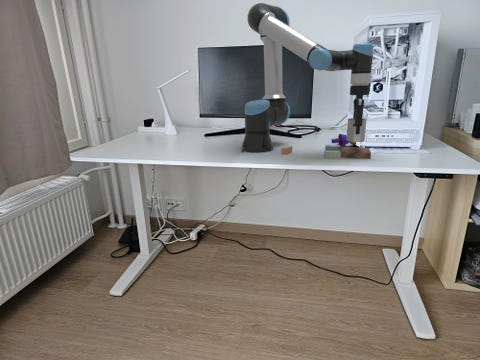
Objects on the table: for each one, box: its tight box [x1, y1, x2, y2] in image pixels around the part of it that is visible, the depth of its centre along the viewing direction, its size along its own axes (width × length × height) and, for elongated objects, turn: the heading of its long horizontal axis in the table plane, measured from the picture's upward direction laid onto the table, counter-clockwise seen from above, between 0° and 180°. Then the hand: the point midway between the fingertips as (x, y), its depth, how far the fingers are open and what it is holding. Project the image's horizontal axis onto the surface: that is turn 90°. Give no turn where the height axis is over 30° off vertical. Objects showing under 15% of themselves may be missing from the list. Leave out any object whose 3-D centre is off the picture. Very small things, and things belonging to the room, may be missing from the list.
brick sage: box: [324, 150, 342, 160], centre depth 131 cm, size 6×3×3 cm, turn 86°
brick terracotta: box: [280, 145, 293, 155], centre depth 142 cm, size 6×3×3 cm, turn 151°
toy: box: [331, 133, 356, 147], centre depth 153 cm, size 11×8×15 cm
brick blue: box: [324, 144, 341, 152], centre depth 142 cm, size 6×3×3 cm, turn 61°
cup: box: [346, 117, 367, 143], centre depth 131 cm, size 7×10×9 cm
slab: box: [340, 146, 372, 160], centre depth 134 cm, size 12×10×2 cm
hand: (355, 139), depth 132 cm, fingers closed on cup, 10 cm apart
